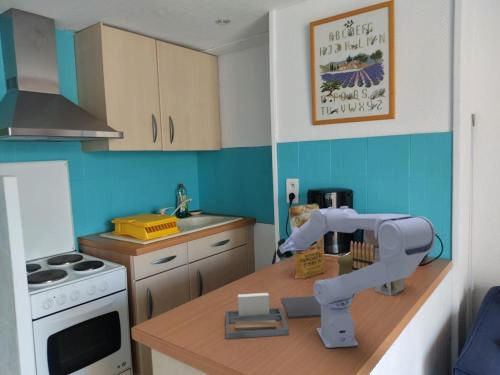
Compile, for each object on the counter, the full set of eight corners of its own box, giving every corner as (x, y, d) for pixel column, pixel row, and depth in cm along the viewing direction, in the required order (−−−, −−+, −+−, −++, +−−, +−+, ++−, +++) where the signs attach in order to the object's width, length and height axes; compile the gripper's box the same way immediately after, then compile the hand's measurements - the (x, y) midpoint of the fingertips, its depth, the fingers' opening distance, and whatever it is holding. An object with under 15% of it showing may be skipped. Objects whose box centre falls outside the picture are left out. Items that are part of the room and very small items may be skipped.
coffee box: (387, 284, 127) (387, 240, 126) (405, 289, 122) (405, 243, 121) (373, 291, 121) (373, 245, 120) (391, 296, 116) (391, 248, 115)
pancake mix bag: (284, 277, 139) (282, 206, 137) (319, 267, 150) (318, 202, 148) (296, 281, 133) (294, 208, 131) (331, 271, 144) (330, 203, 142)
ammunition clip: (348, 269, 146) (348, 240, 145) (351, 268, 148) (351, 239, 147) (373, 274, 139) (373, 244, 138) (375, 273, 140) (375, 243, 139)
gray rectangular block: (269, 318, 103) (268, 295, 103) (238, 320, 103) (238, 297, 102) (268, 315, 105) (268, 292, 105) (238, 317, 105) (237, 294, 104)
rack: (288, 334, 93) (288, 329, 93) (226, 339, 92) (225, 333, 92) (280, 312, 107) (280, 307, 107) (225, 315, 106) (225, 311, 106)
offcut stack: (279, 335, 94) (278, 326, 94) (234, 336, 94) (233, 328, 94) (278, 328, 98) (277, 319, 98) (234, 329, 98) (234, 321, 98)
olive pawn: (355, 289, 124) (354, 258, 123) (337, 288, 125) (337, 258, 124) (353, 283, 130) (353, 253, 129) (336, 282, 131) (336, 253, 130)
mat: (335, 315, 104) (335, 313, 104) (288, 318, 103) (288, 316, 103) (322, 297, 118) (322, 295, 118) (281, 299, 117) (281, 298, 117)
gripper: (319, 213, 104) (298, 231, 115) (282, 229, 97) (263, 247, 107) (332, 233, 102) (309, 250, 113) (295, 252, 95) (274, 268, 105)
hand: (287, 250), depth 110 cm, fingers open, 7 cm apart
